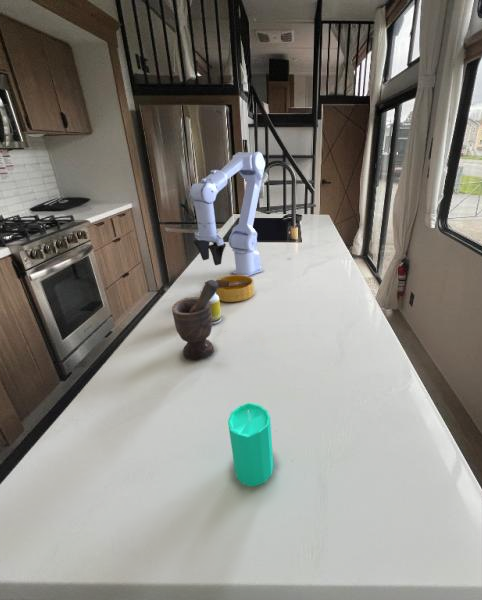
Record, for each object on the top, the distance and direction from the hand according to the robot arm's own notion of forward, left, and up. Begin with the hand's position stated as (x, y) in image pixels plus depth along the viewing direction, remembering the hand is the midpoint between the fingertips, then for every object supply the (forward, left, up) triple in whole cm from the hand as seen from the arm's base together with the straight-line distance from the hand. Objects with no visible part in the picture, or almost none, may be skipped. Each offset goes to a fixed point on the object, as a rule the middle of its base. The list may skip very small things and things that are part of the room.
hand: (211, 261), depth 111 cm
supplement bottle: (+14, +20, -10) cm, 26 cm away
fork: (+1, +10, -6) cm, 12 cm away
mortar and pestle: (+24, +33, -10) cm, 42 cm away
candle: (+35, +66, -10) cm, 75 cm away
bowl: (-1, +10, -10) cm, 14 cm away
